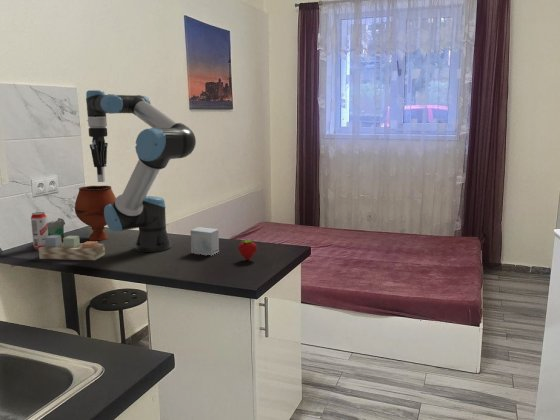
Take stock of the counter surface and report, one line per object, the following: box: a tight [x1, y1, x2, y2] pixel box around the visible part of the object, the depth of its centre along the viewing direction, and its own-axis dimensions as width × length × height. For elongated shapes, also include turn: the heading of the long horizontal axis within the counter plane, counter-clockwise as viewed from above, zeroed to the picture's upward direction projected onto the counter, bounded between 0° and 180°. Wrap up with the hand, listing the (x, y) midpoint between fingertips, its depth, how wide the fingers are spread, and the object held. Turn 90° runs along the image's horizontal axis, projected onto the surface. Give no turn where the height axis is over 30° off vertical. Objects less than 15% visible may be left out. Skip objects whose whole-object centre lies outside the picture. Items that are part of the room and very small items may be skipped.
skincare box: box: [190, 226, 220, 257], centre depth 214 cm, size 10×6×10 cm, turn 65°
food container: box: [47, 217, 66, 243], centre depth 233 cm, size 12×6×10 cm, turn 168°
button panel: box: [38, 242, 106, 261], centre depth 209 cm, size 24×9×4 cm, turn 84°
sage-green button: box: [62, 235, 81, 248], centre depth 209 cm, size 5×5×4 cm
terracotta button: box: [82, 240, 99, 249], centre depth 208 cm, size 5×5×4 cm
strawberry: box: [238, 239, 258, 261], centre depth 203 cm, size 6×8×10 cm
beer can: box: [30, 211, 48, 251], centre depth 221 cm, size 6×6×16 cm
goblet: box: [74, 185, 117, 241], centre depth 238 cm, size 19×19×25 cm
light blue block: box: [45, 235, 63, 248], centre depth 209 cm, size 5×5×4 cm
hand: (101, 181), depth 219 cm, fingers closed
